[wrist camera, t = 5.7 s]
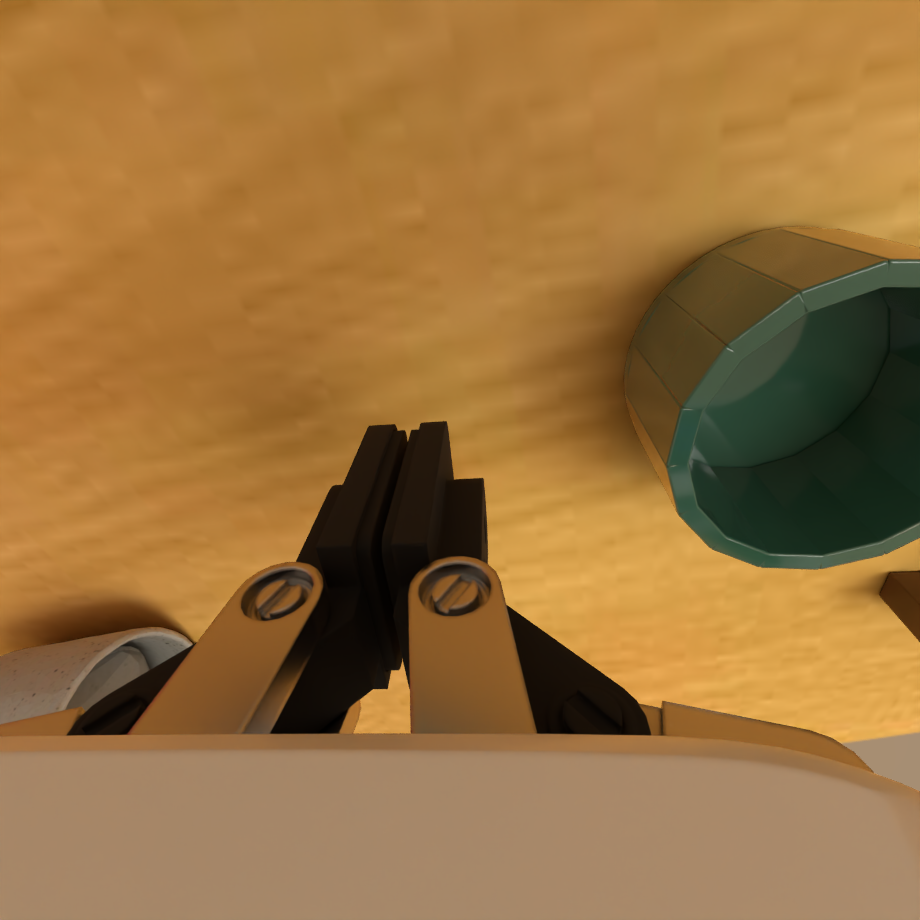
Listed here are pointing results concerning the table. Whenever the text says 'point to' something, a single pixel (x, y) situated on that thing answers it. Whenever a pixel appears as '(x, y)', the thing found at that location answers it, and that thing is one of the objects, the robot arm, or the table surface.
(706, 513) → the green cup
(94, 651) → the ceramic mug
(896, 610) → the walnut bay
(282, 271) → the table surface
